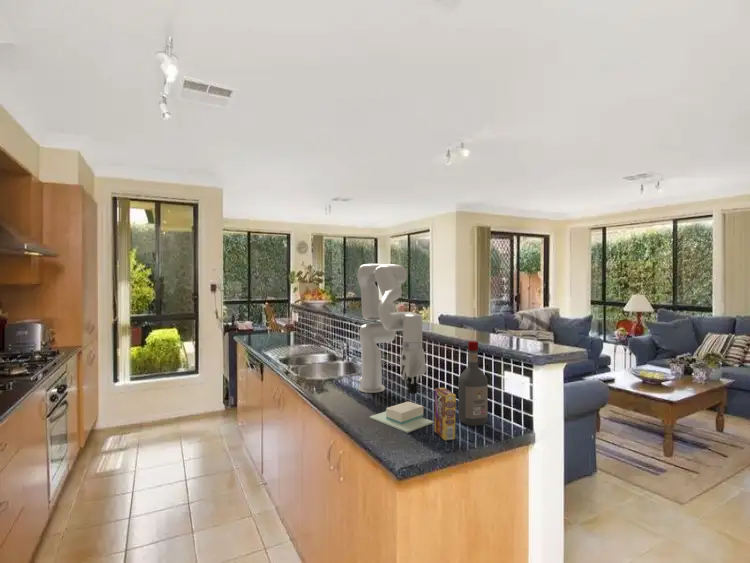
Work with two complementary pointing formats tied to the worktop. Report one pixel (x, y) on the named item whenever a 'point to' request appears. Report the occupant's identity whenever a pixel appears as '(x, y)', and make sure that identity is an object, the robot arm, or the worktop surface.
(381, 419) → the mat
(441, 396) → the candy box
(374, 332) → the robot arm
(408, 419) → the tile
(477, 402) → the liquor
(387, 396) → the worktop surface
